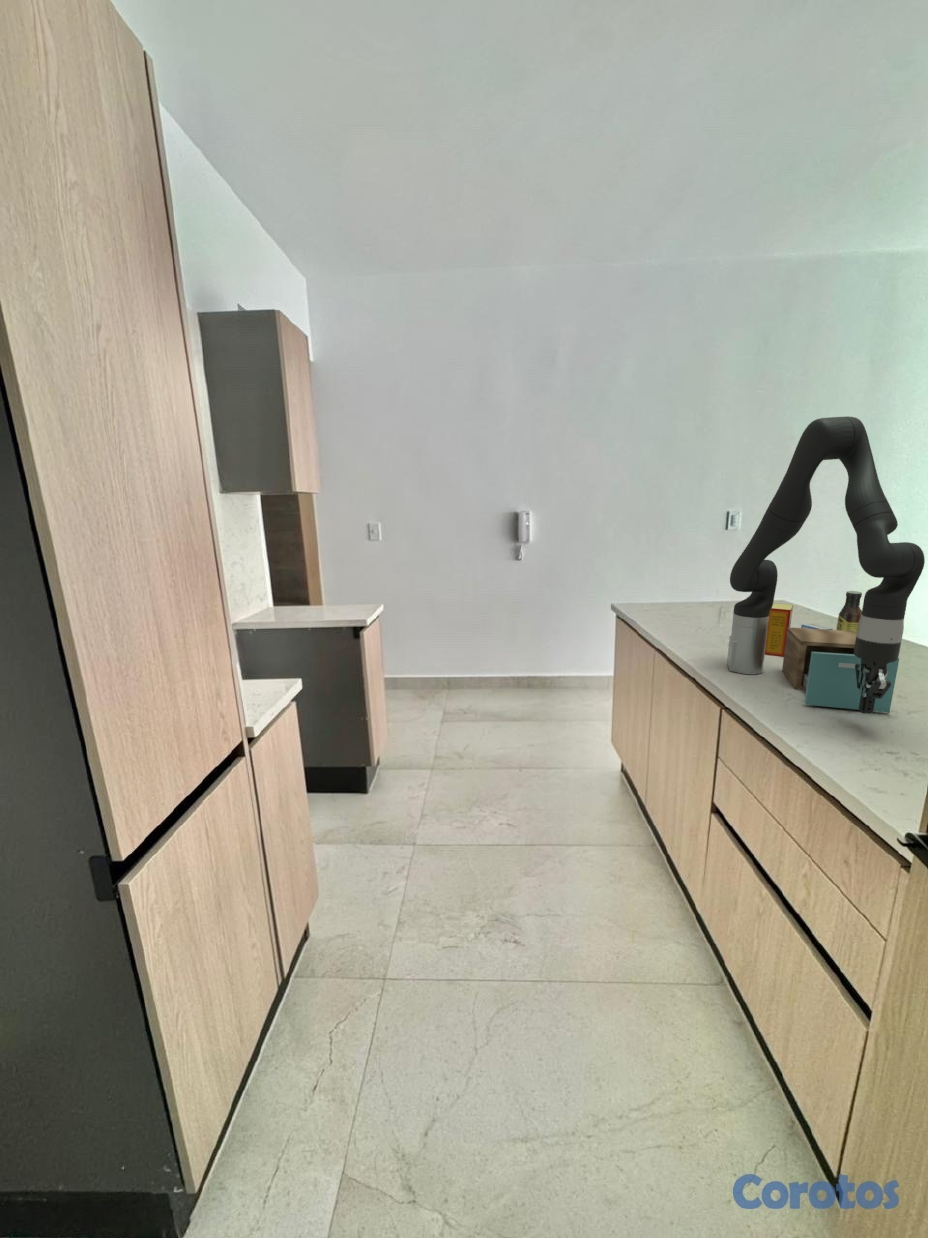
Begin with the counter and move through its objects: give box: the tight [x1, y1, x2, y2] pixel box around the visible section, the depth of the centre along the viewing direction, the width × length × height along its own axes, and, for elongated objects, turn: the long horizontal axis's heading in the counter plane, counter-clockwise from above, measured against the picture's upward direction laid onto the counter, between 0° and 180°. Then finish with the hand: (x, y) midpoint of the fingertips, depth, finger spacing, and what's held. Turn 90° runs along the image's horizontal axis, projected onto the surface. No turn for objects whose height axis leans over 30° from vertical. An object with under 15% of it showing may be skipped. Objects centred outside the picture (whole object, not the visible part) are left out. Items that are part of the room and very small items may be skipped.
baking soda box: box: [765, 602, 794, 658], centre depth 166 cm, size 10×6×16 cm
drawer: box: [802, 652, 900, 713], centre depth 127 cm, size 17×15×13 cm
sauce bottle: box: [835, 590, 863, 633], centre depth 166 cm, size 7×6×20 cm
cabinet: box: [781, 627, 857, 691], centre depth 139 cm, size 16×15×14 cm
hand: (865, 712), depth 112 cm, fingers closed
